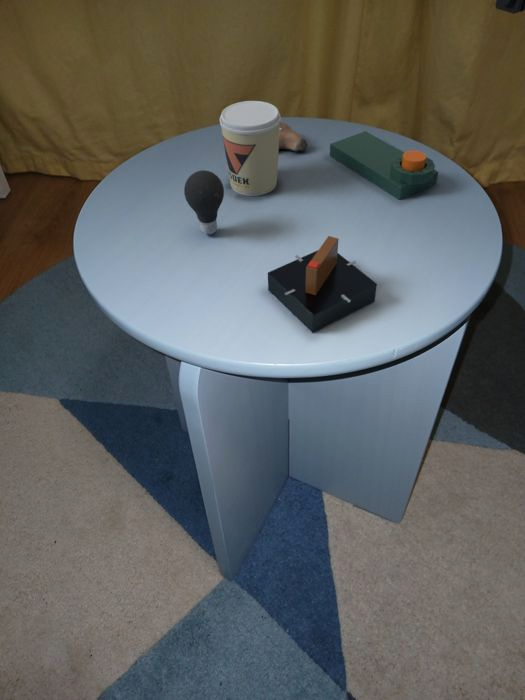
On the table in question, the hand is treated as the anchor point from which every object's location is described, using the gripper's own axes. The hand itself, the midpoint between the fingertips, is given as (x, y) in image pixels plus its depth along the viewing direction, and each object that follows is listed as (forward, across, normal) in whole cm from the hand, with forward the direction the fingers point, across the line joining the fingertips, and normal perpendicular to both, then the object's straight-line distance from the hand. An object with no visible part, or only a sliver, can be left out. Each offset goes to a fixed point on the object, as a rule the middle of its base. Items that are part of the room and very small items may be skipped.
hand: (509, 9), depth 66 cm
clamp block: (+27, +30, +4) cm, 41 cm away
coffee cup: (+27, +22, -25) cm, 43 cm away
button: (+24, +2, -9) cm, 25 cm away
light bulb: (+27, +35, -17) cm, 48 cm away
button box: (+27, +2, -16) cm, 32 cm away
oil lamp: (+27, +11, -33) cm, 44 cm away
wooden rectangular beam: (+24, +30, +4) cm, 39 cm away
